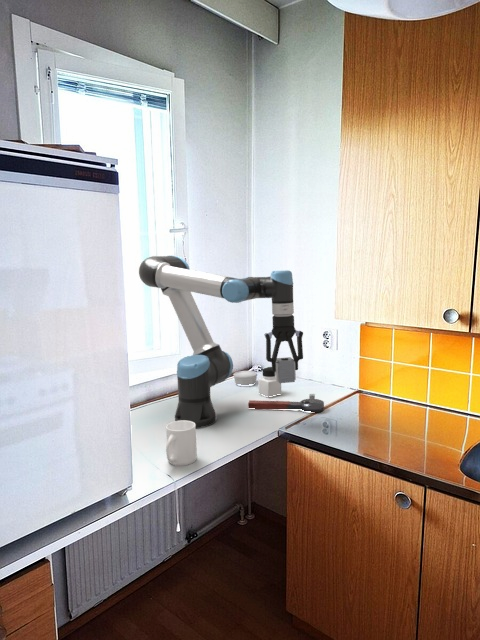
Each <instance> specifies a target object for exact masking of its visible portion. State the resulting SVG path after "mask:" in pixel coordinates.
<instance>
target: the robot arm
mask: <svg viewBox="0 0 480 640" xmlns="http://www.w3.org/2000/svg"><path fill="white" fill-rule="evenodd" d="M138 275H139V278H140V280H141V282H142V283H143V284H145V285H146V286H148V287H151V288H156V289H157V288H158V289H160V290H161V292H162V295H164V296H167V297H168V298H169V301H170V303H171V305H172V308H173V309H174V311H175V314H176V316H177V318H178V320H179V323H180V325H181V327H182V329H183V331H184V333H185V335H186V337H187V339H188V342H189V344H190V346H191V349H192V351H193V353H192V355H188V356H184V357H183V358H181V359H179V361H177V363H176V364H177V365H176V366H177V367H176V376H177V394H178V397H177V398H178V402H177V406H176V410H175V413H174V421H181V420H186V421H192V422H194V423H195V424H196V429H199V428H205V427H208V426H211V425H213V424H214V423H216V422H217V412H216V410H215V408H214V405H213V403H212V399H211V398H212V397H211V388H212V387H214V386H215V385H218V384H221V383H223V382H225V381H226V380H227V379H229V378H230V376H231V375H232V373H233V370H234V361H233V358H232V356H231V355H230V354H229V353H228V352H226V351H224V350H222V348H221V346H220V344H219V343H216V342H215V341H214V339H213V337H212V335H211V333H210V332H209V331H210V330H209V329H208V327H207V324H206V323H205V320H204V319H203V316H202V314H201V312H200V309H199V307H198V305H197V303H196V299H194V297H193V294H192V293H195V294H200V295H206V296H211V297H215V298H221V299H223V300H224V299H225V301H227V302H228V303H233V304H234V303H236V304H237V303H242V302H245V301H251V300H254V299H255V300H256V299H271V311H272V312H271V313H272V315H273V316H272V329H271V331H270V332H266V333H264V338H265V340H266V341H265V350H266V351H265V352H266V353H265V354H266V355H265V356H266V357H265V359H266V361H267V362H270V363H271V367H272V371H273V372H275V380H276V381H279V378H278V363H277V362H276V359H277V358H278V355H279V351H280V348H281V347H280V346H281V343H282V342H287V343H288V347H289V349H290V353H291V356H292V359H293V360H294V374H295V381H296V380H297V378H296V375H297V374H296V371H298V370H299V361H300V360H303V359H304V351H303V336H304V332H303V331H302V330H297V329H296V328H295V316H294V315H293V314H294V313H295V312H294V310H295V309H294V281H293V280H294V279H293V273H292V271H290V270H287V269H286V270H272V271H271V272H270V276H247V277H242V278H236V277H231V276H226V275H222V274H221V275H219V274H215V273H209V272H204V271H198V270H192V269H190V266H189V264H188V262H187V261H186V260H185V259H184V258H183V257H180V256H178V255H163V256H162V255H160V256H159V255H158V256H157V255H152V256H149V257H146V258H145V259H144V260H143V261H142V262H140V266H139V268H138ZM294 335H295V336H296V342H297V351H296V348H295V346H294V342H293V339H292V338H293V337H294ZM273 336H274V338H275V341H274V342H275V344H274V347H273V351H272V340H271V339H272V337H273Z"/></svg>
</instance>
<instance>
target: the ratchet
mask: <svg viewBox="0 0 480 640" xmlns="http://www.w3.org/2000/svg"><path fill="white" fill-rule="evenodd" d="M308 395H309V398H305V399H302V400H301V401H289V400H285V401H284V400H254V399H253V400H252V399H251V400H248V407H247V408H255V409H302V410H304V411H311V412H315V413H318V414H321V413H324V411H325V401H323V400H321V399H319V398H316V394H315V393H309V394H308Z"/></svg>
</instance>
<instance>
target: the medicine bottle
mask: <svg viewBox="0 0 480 640" xmlns="http://www.w3.org/2000/svg"><path fill="white" fill-rule="evenodd" d="M257 382H258V394H259V393H260V394H263V395H265V396H268V397H269V396H273V395H277V394H281V395H282V383H279V382H278V381H276V380H275V372H273V371H272V366H266V367H263V368H262V377H260V378H258V381H257Z"/></svg>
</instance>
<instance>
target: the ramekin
mask: <svg viewBox="0 0 480 640" xmlns="http://www.w3.org/2000/svg"><path fill="white" fill-rule="evenodd" d="M233 377H234V383H236V384H241V385H249V384H254V383H255V382H256V383H257V378H258V372H256V371H253V370H241V371H240V370H239V371H236V372H234V373H233ZM236 384H235V385H236Z"/></svg>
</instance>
